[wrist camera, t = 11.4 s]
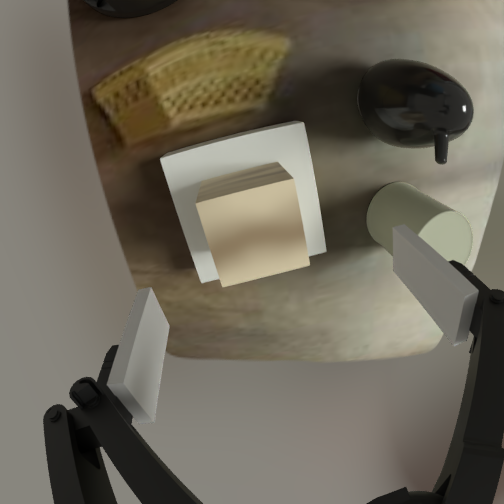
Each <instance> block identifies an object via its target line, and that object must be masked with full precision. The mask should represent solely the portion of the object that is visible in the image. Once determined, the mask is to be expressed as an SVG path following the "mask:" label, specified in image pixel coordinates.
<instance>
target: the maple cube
mask: <svg viewBox="0 0 504 504" xmlns="http://www.w3.org/2000/svg"><path fill="white" fill-rule="evenodd" d="M195 204H196V207H197V210H198V213H199V216H200V220H201V223H202V226H203V229H204V232H205V235H206V239H207V242H208V245H209V248H210V251H211V254H212V257H213V260H214V263H215V266H216V269H217V272H218V275H219V278H220V281H221V284H222V287H226V286H230V285H234V284H238V283H242V282H246V281H250V280H255V279H259V278H263V277H267V276H270V275H274V274H278V273H282V272H286V271H290V270H294V269H298V268H302V267H306V266H310V262H309V256H308V250H307V244H306V239H305V233H304V228H303V222H302V217H301V212H300V207H299V201H298V196H297V191H296V186H295V181H294V178H293V177H292V176H291V175H290V174H289V173H288V172H287V171H286V170H285V169H284V168H283V167H282V166H281V165H280V163H279V162H274V163H270V164H265V165H261V166H257V167H253V168H249V169H245V170H241V171H237V172H233V173H229V174H225V175H221V176H218V177H214V178H210V179H207V180H203V181H201V185H200V189H199V192H198V196H197V200H196V203H195Z"/></svg>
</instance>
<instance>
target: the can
mask: <svg viewBox="0 0 504 504" xmlns="http://www.w3.org/2000/svg"><path fill="white" fill-rule="evenodd" d="M403 224H405V225H406V226H407V227H408V228H410V229H411V230H412V231H413V232H414V233H416V234H417V235H418V236H419V237H420V238H422V239H423V240H424V241H425V242H426V243H427V244H429V245H430V246H431V247H432V248H433V249H434V250H435V251H437V252H438V253H439V254H440V255H441V256H442V257H443V258H445V259H446V260H447V261H451V260H455V261H457V262H459V263H461V264H463V265H464V266H465V264H466V262H467V261H468V258H469V256H470V253H471V250H472V245H473V231H472V227H471V224H470V222H469V220H468V219H467V218H466V217H465V216H464V215H463V214H461V213H460V212H457V211H455V210H453V209H451V208H449V207H448V206H446V205H444V204H442V203H440V202H439V201H437V200H435V199H433V198H431V197H430V196H428V195H426V194H424V193H423V192H421V191H419V190H417V189H416V188H415V187H414V186H412V185H410V184H408V183H405V182H395V183H391V184H388V185H386V186H385V187H383V188H382V189H381V190H379V191H378V192H377V193H376V195H375V196H374V197H373V199H372V201H371V203H370V205H369V207H368V211H367V227H368V231H369V233H370V235H371V236H372V238H373V239H374V240H375V241H376V242H377V243H379V244H381V245H382V246H383V247H384V248H385V249H386V250H387V251H388V252H389V253H390V254H391V255H392V256H393V228H392V227H395V226H399V225H403Z"/></svg>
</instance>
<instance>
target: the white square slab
mask: <svg viewBox="0 0 504 504" xmlns="http://www.w3.org/2000/svg"><path fill="white" fill-rule="evenodd" d="M160 161H161V164H162V167H163V170H164V174H165V177H166V180H167V183H168V186H169V190H170V193H171V196H172V199H173V202H174V205H175V208H176V211H177V214H178V217H179V220H180V223H181V226H182V229H183V232H184V235H185V238H186V241H187V244H188V247H189V250H190V252H191V255H192V258H193V261H194V264H195V267H196V269H197V272H198V275H199V278H200V281H201V283H204V282H208V281H212V280H216V279H220V278H219V275H218V272H217V269H216V266H215V263H214V260H213V257H212V254H211V251H210V248H209V245H208V242H207V239H206V235H205V232H204V229H203V226H202V223H201V220H200V216H199V213H198V210H197V207H196V204H195V203H196V200H197V196H198V192H199V189H200V185H201V181H203V180H207V179H210V178H214V177H218V176H221V175H225V174H229V173H233V172H237V171H241V170H245V169H249V168H253V167H257V166H261V165H265V164H270V163H274V162H279V163H280V165H281V166H282V167H283V168H284V169H285V170H286V171H287V172H288V173H289V174H290V175H291V176H292V177H293V178H294V181H295V186H296V191H297V196H298V201H299V207H300V212H301V217H302V222H303V228H304V233H305V239H306V244H307V250H308V256H312V255H316V254H320V253H324V252H327V251H326V244H325V237H324V231H323V224H322V218H321V212H320V205H319V199H318V194H317V188H316V182H315V176H314V171H313V166H312V160H311V155H310V150H309V145H308V140H307V135H306V130H305V125H304V122H300V121H291V122H286V123H281V124H276V125H272V126H267V127H262V128H258V129H254V130H249V131H245V132H241V133H237V134H233V135H229V136H225V137H221V138H217V139H214V140H210V141H206V142H203V143H199V144H195V145H192V146H188V147H185V148H182V149H178V150H175V151H172V152H168V153H166V154H165V155H164V156H162V157H161V158H160Z"/></svg>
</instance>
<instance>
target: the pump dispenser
mask: <svg viewBox="0 0 504 504" xmlns="http://www.w3.org/2000/svg"><path fill="white" fill-rule="evenodd" d="M357 100H358V108H359V111H360V114H361V117H362V119H363V121H364V123H365V125H366V126H367V128H368V129H369V131H370V132H371V133H372V134H373V135H374V136H375V137H376V138H378V139H379V140H381V141H382V142H384V143H386V144H389V145H392V146H396V147H401V148H428V147H434V146H435V161H436V162H437V163H438V164H445V163H446V162H447V153H448V142H450V141H452V140H454V139H456V138H458V137H459V136H461V135H462V134H463V133H464V132H465V131H466V130H467V129H468V128H469V126H470V124H471V122H472V119H473V114H474V109H473V103H472V100H471V97H470V95H469V93H468V92H467V90H466V89H465V88H464V87H463V86H462V84H461V83H460V82H458V81H457V80H456V79H455V78H454V77H452V76H451V75H449V74H448V73H446V72H444V71H443V70H441V69H439V68H437V67H434V66H432V65H429V64H427V63H423V62H419V61H414V60H407V59H390V60H385V61H381V62H379V63H377V64H375V65H374V66H372V67H371V68H370V69H369V70H368V71H367V72H366V73H365V75H364V77H363V78H362V81H361V83H360V86H359V90H358V98H357Z"/></svg>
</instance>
